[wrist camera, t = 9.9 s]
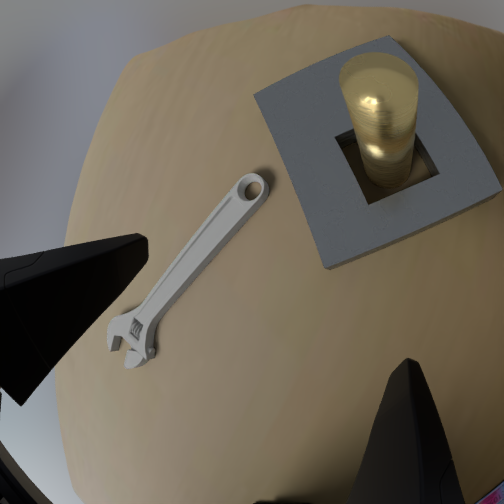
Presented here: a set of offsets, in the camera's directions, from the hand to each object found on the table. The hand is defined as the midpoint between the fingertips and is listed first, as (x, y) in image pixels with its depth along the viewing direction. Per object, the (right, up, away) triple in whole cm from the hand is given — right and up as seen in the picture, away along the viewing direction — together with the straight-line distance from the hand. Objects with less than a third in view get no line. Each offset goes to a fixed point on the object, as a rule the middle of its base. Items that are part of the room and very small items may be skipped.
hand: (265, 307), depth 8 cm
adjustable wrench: (-7, -2, +18) cm, 19 cm away
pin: (+10, +8, +10) cm, 16 cm away
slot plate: (+9, +10, +11) cm, 17 cm away
